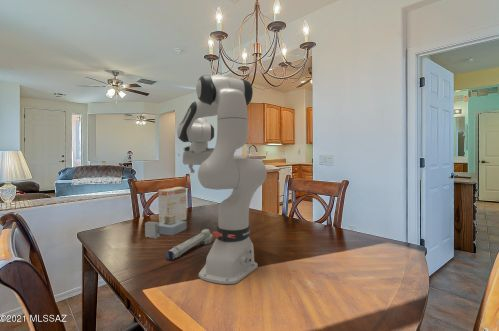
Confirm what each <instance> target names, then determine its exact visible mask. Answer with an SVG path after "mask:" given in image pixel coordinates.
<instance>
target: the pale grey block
mask: <svg viewBox="0 0 499 331" xmlns="http://www.w3.org/2000/svg"><path fill="white" fill-rule="evenodd" d="M160 235H161V234H160V231H159V221H146V222H144V236H145V237H144V238H147V237H149V239H158V238H160V237H161V236H160Z"/></svg>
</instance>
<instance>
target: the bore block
mask: <svg viewBox="0 0 499 331" xmlns="http://www.w3.org/2000/svg"><path fill="white" fill-rule="evenodd" d="M187 225H188V224H187V220H186V221H185V220H182V221H178V220H175V224H172V225H167V224H165V221H162V222H160V223H159V231H160V235H165V236H166V235H167V236H172V237H173V236H175V235H177V234H179V233H180V232H181V233H182V232H183V231H186V230H188V229H187Z"/></svg>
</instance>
